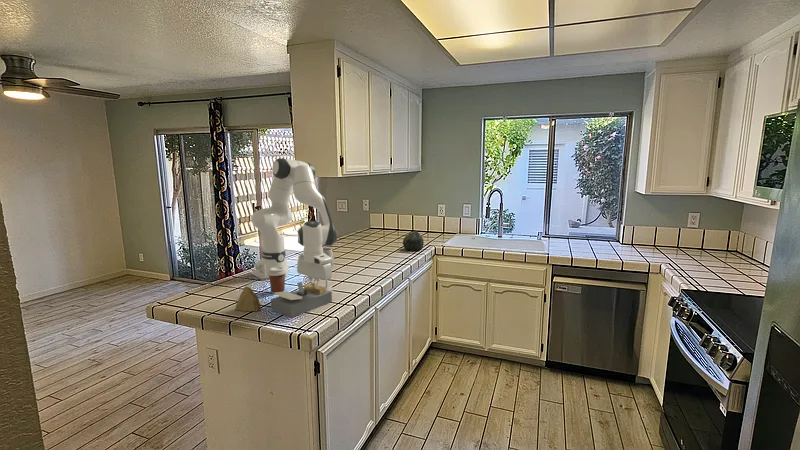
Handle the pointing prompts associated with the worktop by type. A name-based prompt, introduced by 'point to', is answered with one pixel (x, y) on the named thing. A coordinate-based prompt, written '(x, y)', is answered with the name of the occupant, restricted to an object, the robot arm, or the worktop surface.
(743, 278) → the worktop surface
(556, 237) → the worktop surface
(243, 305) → the rock
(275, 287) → the coffee cup
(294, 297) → the white slab
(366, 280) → the worktop surface
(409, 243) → the squash
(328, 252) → the wineglass
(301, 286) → the paddle
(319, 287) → the gold rectangular block
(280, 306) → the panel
